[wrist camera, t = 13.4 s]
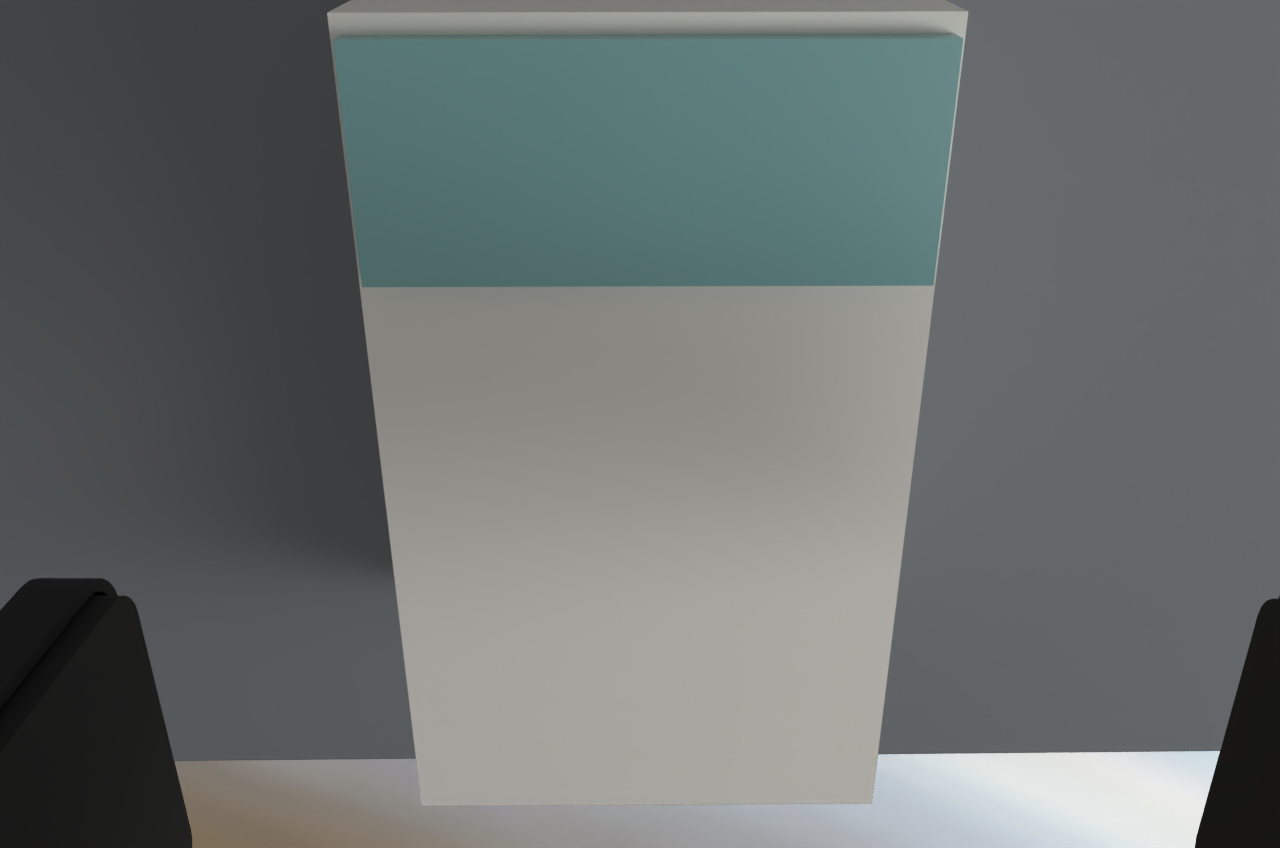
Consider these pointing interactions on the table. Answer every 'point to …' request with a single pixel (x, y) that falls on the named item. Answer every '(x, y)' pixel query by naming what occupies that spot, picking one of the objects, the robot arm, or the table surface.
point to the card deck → (647, 378)
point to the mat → (949, 412)
